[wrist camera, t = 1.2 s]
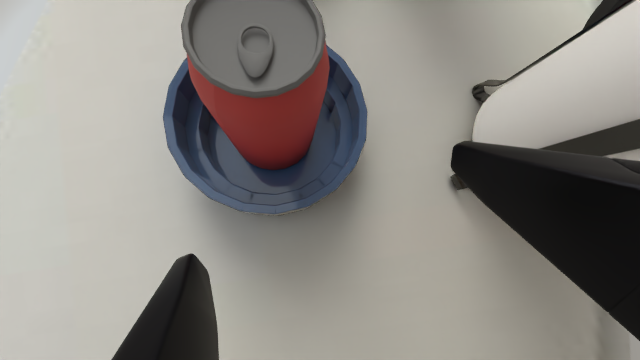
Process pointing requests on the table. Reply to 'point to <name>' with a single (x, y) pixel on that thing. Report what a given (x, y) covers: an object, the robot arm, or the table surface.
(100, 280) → the table surface
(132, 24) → the table surface
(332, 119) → the bowl
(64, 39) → the table surface
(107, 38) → the table surface
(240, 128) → the beer can
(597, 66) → the coffee press
